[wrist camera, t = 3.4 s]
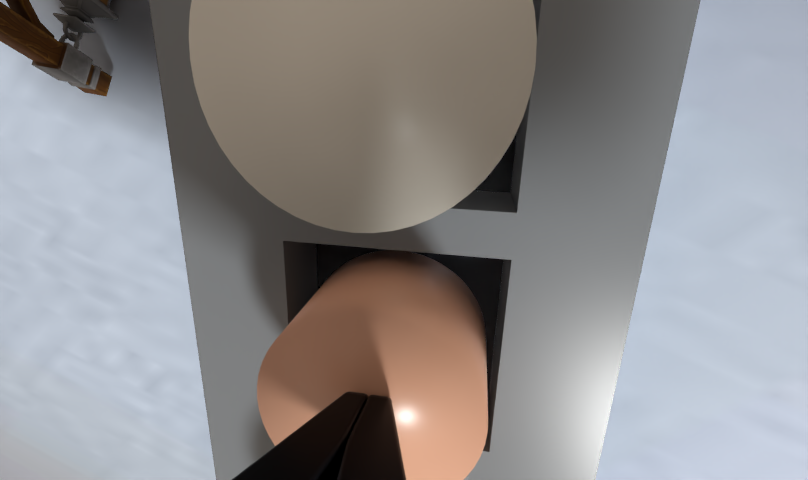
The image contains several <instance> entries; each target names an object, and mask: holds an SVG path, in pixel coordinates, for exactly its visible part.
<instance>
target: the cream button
mask: <svg viewBox="0 0 808 480" xmlns="http://www.w3.org/2000/svg"><path fill="white" fill-rule="evenodd" d="M536 47H537V34H536V20H535V10H534V5H533V0H192V1H191V7H190V18H189V50H190V62H191V68H192V74H193V80H194V85H195V88H196V92H197V95H198V99H199V102H200V105H201V108H202V110H203V113H204V115H205V118H206V120H207V123H208V125H209V127H210V129H211V131H212V133H213V135H214V137H215V139H216V140H217V142H218V144H219V146H220V148H221V149H222V150H223V152H224V153H225V155H226V156H227V158H228V159H229V161H230V162H231V164H232V165H233V166H234V167H235V168H236V169H237V171H238V172H239V173H240V174H241V175H242V176H243V178H244V179H245V180H246V181H247V182H248V183H249V184H250V185H251V186H253V187H254V188H255V189H256V190H257V191H258V192H259V193H260V194H261V195H262V196H264V197H265V198H267V199H268V200H269V201H271V202H272V203H273V204H275V205H276V206H278V207H279V208H281V209H283V210H284V211H286V212H288V213H290V214H292V215H293V216H295V217H297V218H300V219H302V220H305V221H307V222H309V223H312V224H314V225H318V226H321V227H325V228H329V229H332V230H338V231H344V232H351V233H379V232H388V231H395V230H399V229H403V228H407V227H411V226H414V225H417V224H419V223H422V222H424V221H427V220H430V219H432V218H434V217H436V216H438V215H439V214H441V213H443V212H445V211H447V210H448V209H450V208H452V207H453V206H455V205H456V204H457V203H459V202H460V201H461V200H463V199H464V198H465V197H467V196H468V195H469V194H470V193H472V192H473V191H474V190H475V189H476V188H477V187H478V186H479V185H480V184H481V183H482V182H483V181H484V180H485V179H486V178H487V177H488V175H489V174H490V173H491V172H492V170H493V169H494V168H495V167H496V165H497V164H498V163H499V162H500V160H501V159H502V157H503V155H504V154H505V152H506V150H507V149H508V147H509V146H510V144H511V142H512V141H513V139H514V136H515V134H516V132H517V130H518V128H519V125H520V123H521V121H522V119H523V116H524V113H525V110H526V107H527V103H528V100H529V97H530V94H531V89H532V83H533V78H534V72H535V66H536Z"/></svg>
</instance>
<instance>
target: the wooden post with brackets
mask: <svg viewBox="0 0 808 480" xmlns="http://www.w3.org/2000/svg"><path fill="white" fill-rule="evenodd" d="M6 1H7V3H8V5H9V7H10V8H9V7H7V6H6V5H4V4H3V3H1V2H0V41H1V42H3V43H5V44H6V45H8V46H10V47H11V48H13V49H15V50H16V51H18V52H20V53H21V54H23V55H25V56H26V57H28V58H30V59H31V60H33V62H32V65H34V66H35V67H37V68H39V69H40V70H42V71H44V72H46V73H47V74H49V75H51V76H52V77H54V78H56V79H58V80H61V81H66V82H68V83H69V84H70V85H72V86H76V87H78V88H79V89H81V90H82V91H84V92H86V93H91V94H97V95H102V96H107V92H108V89H109V85H110V82H111V78H112V76H110V75H108V74H106V73H105V72H103V71H101V68H99V67H98V66H94V65H92V61H93V60H92V59H91V58H89V57H88V56H86V55H85V54H83V53H82V52H81V51H79V50H78V47H79V40H80V39H81V38H82V35H83V33H96V31H95V30H93V29H92V28H91V27H89V26H88V25H87V24H85V23H84V22H90V23H94V22H93V21H92V19H91V18H95V17H97V18H108V19H114V20H118V16H117V15H116V14H115V13H114V12H112V11H111V10H110V9H109V4H110V2H111V0H60V1H61V2H62V3H63V5H64V6H65V7H61V8H60V9H62V10H63V11H64V12H66V13H67V14H68V15H62V14H56V13H53V15H54V16H55V17H56V18H57V19H58V20H59V21H61V22H62V23H63V31H64V35H63V36H61V38H60V40H59V41H57V40H56V39H54V35H53V34H52V33H51V32H50V31H49V30H48V29H47V28H46V27H45V26H44V25H43V24H42V23H41V22H40V21H39V19H38V17H37V15H36V13H35V11H34V9H33V7H32V5H31V3H30V1H29V0H6ZM68 28H69V29H70V30H72V31H74V32H78V35H75V34H73V33H69V32H68ZM67 38H68V39H69V40H71V41H74V42H75V43H74V47H73V46H72V45H70V44H69V43H65V42H64V41H65V39H67Z"/></svg>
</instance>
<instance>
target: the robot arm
mask: <svg viewBox="0 0 808 480" xmlns="http://www.w3.org/2000/svg"><path fill="white" fill-rule="evenodd" d="M231 480H406V475H405V470H404V464H403V459H402V454H401V448H400V443H399V437H398V432H397V427H396V421H395V416H394V411H393V405H392V400H391V398H390V397H387V396H379V395H370V396H369V397H368V395H367V394H365V393H358V392H346V393H344V394H343V395H341V396H340V397H339V398H338V399H336V400H335V401H334V402H332V403H331V404H330V405H328V406H327V407H326V408H324V409H323V410H322V411H321V412H319V413H318V414H317V415H315V416H314V417H313V418H311V419H310V420H309V421H307V422H306V423H305V424H303V425H302V426H301V427H300V428H298V429H297V430H296V431H294V432H293V433H292V434H290V435H289V436H288V437H286V438H285V439H284V440H283V441H281V442H280V443H279V444H277V445H276V446H275V447H273V448H272V449H271V450H269V451H268V452H267V453H266V454H264V455H263V456H262V457H260V458H259V459H258V460H256V461H255V462H254V463H252V464H251V465H250V466H249V467H247V468H246V469H245V470H243V471H242V472H241V473H239V474H238V475H237V476H235V477H234V478H233V479H231Z"/></svg>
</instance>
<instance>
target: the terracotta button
mask: <svg viewBox="0 0 808 480" xmlns="http://www.w3.org/2000/svg"><path fill="white" fill-rule="evenodd" d="M346 392H358V393H365V394H367V395H368V397H369V396H370V395H379V396H387V397H390V398H391V400H392V405H393V411H394V416H395V421H396V427H397V432H398V437H399V443H400V448H401V454H402V459H403V464H404V470H405V475H406V480H464V479H465V478H466V477H467V476H468V474H469V473H470V472H471V471H472V470H473V468H474V467H475V465H476V464H477V462H478V460H479V458H480V457H481V454H482V452H483V449H484V446H485V443H486V438H487V433H488V397H487V356H486V329H485V321H484V318H483V314H482V311H481V308H480V306H479V304H478V301H477V300H476V298H475V296H474V295H473V293H472V291H471V290H470V289H469V288H468V286H467V285H466V284H465V283H464V281H463V280H461V279H460V278H459V277H458V276H457V275H456V274H455V273H454V272H453V271H451V270H450V269H449V268H447V267H446V266H444V265H442V264H441V263H439V262H437V261H435V260H433V259H431V258H428V257H426V256H424V255H420V254H417V253H413V252H408V251H400V250H383V251H374V252H370V253H366V254H363V255H360V256H358V257H355V258H353V259H351V260H350V261H348V262H346V263H344V264H343V265H342V266H340V267H339V268H338V269H336V270H335V271H334V272H333V273H332V275H331V276H330V277H329V278H328V279H327V280H326V281H325V282H324V284H323V285H322V286H321V287H320V288H319V289H318V291H317V292H316V293H315V294H314V295H313V296H312V298H311V299H310V300H309V301H308V302H307V304H306V305H305V306H304V307H303V308H302V309H301V311H300V312H299V313H298V314H297V315H296V316H295V318H294V319H293V320H292V321H291V322H290V323H289V325H288V326H287V327H286V328H285V329H284V331H283V332H282V333H281V334H280V335H279V336H278V338H277V339H276V340H275V341H274V343H273V344H272V345H271V347H270V348H269V350H268V351H267V353H266V355H265V357H264V359H263V361H262V364H261V367H260V371H259V374H258V382H257V401H258V407H259V412H260V415H261V418H262V422H263V424H264V426H265V429H266V431H267V433H268V435H269V437H270V438H271V440H272V442H273V443H274V445H275V446H276V445H277V444H279V443H280V442H281V441H283V440H284V439H285V438H286V437H288V436H289V435H290V434H292V433H293V432H294V431H296V430H297V429H298V428H300V427H301V426H302V425H303V424H305V423H306V422H307V421H309V420H310V419H311V418H313V417H314V416H315V415H317V414H318V413H319V412H321V411H322V410H323V409H324V408H326V407H327V406H328V405H330V404H331V403H332V402H334V401H335V400H336V399H338V398H339V397H340V396H341V395H343V394H344V393H346Z"/></svg>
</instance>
